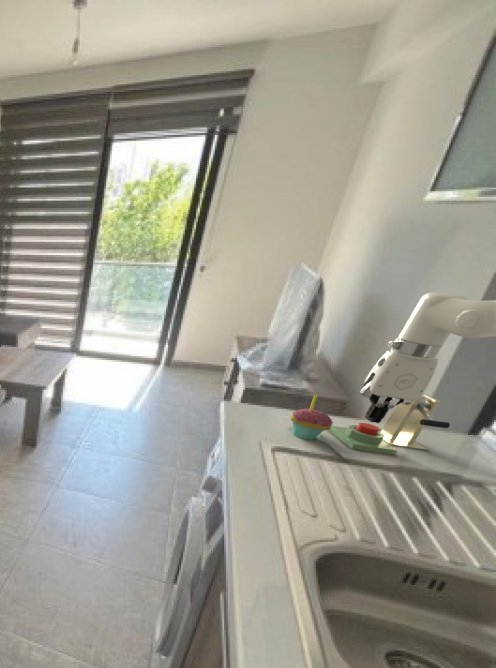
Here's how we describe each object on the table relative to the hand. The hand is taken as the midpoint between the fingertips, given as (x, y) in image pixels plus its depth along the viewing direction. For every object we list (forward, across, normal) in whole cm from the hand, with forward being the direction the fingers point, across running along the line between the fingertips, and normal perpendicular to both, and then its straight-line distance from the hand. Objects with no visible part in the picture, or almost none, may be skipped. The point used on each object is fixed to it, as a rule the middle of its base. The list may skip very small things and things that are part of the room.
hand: (371, 420), depth 119 cm
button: (+3, 0, 0) cm, 3 cm away
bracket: (+7, +11, +6) cm, 14 cm away
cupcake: (+7, -12, +1) cm, 14 cm away
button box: (+7, 0, 0) cm, 7 cm away
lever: (-2, +11, +3) cm, 12 cm away
